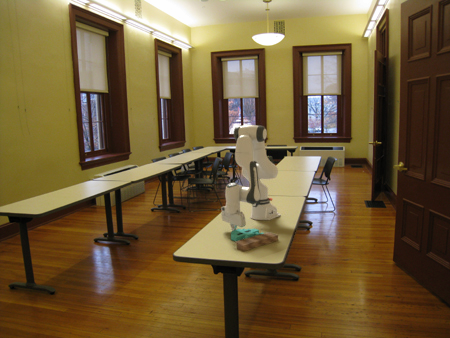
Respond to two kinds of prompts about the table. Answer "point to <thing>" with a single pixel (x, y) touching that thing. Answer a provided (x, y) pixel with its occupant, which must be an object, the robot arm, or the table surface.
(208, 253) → the table surface
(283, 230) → the table surface
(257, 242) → the laid plank
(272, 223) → the table surface
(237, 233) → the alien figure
